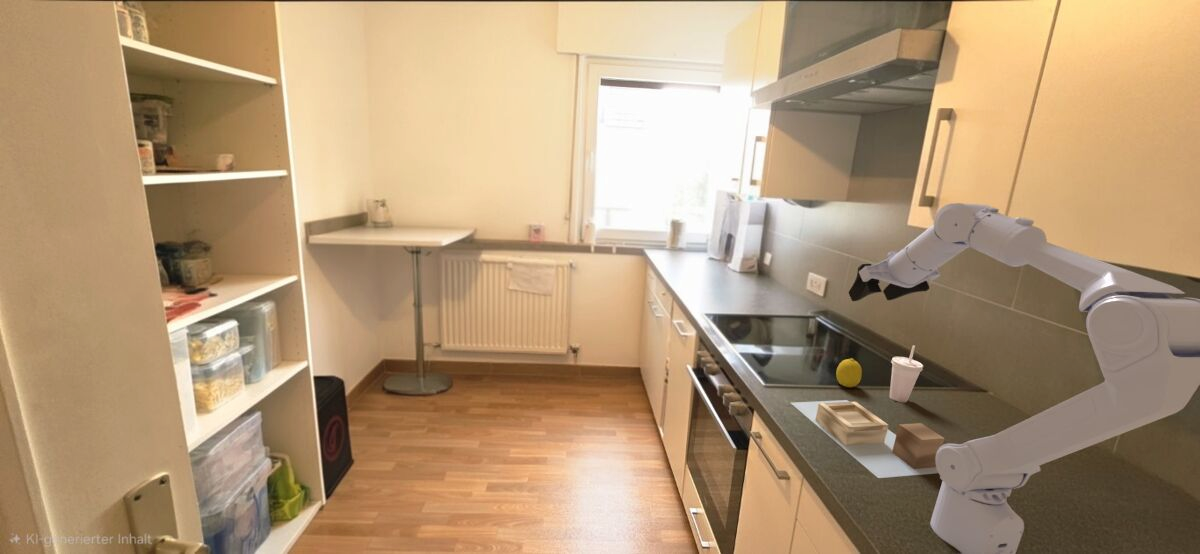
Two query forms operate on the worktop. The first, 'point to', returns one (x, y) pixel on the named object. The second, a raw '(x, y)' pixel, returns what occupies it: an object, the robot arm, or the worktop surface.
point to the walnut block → (917, 445)
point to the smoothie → (904, 377)
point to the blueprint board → (869, 449)
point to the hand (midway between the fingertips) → (869, 296)
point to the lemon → (849, 373)
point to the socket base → (851, 423)
